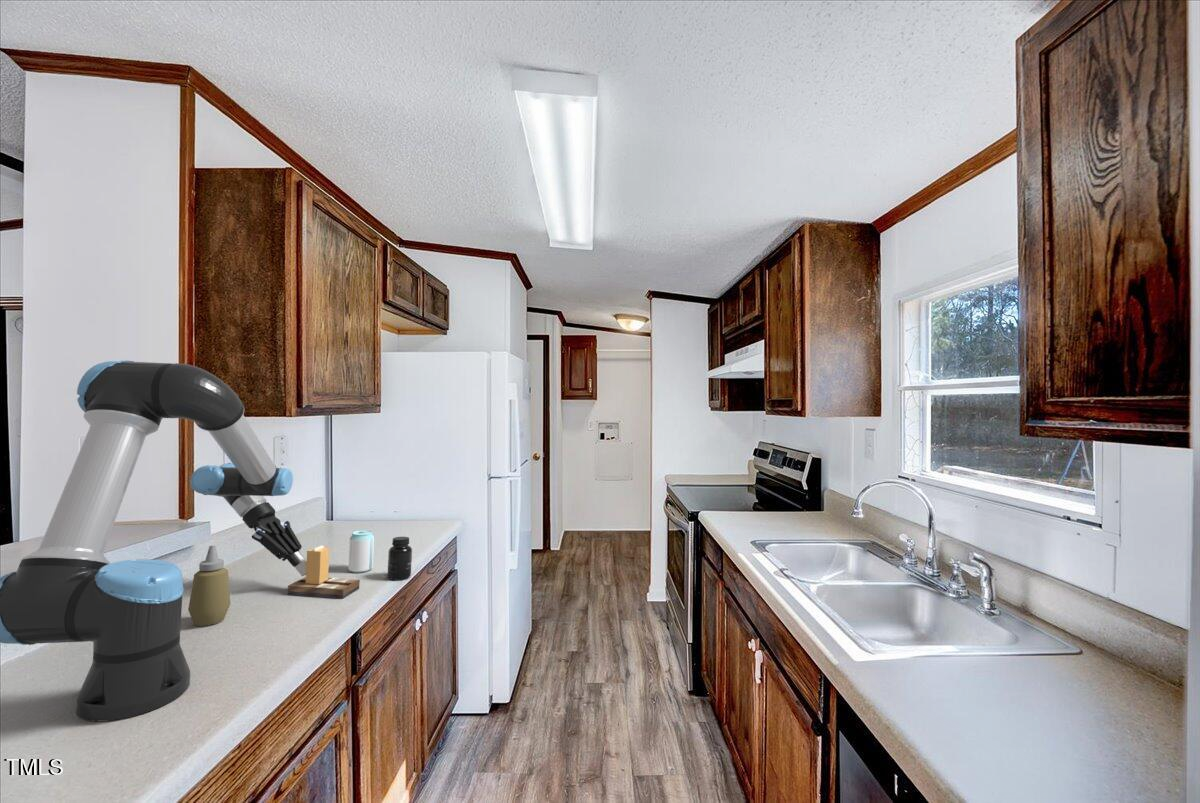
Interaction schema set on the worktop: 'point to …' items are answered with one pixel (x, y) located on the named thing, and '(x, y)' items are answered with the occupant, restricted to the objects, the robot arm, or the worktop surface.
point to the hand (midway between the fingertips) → (307, 572)
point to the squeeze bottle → (210, 591)
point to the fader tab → (317, 565)
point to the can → (361, 551)
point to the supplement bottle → (399, 559)
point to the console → (325, 588)
